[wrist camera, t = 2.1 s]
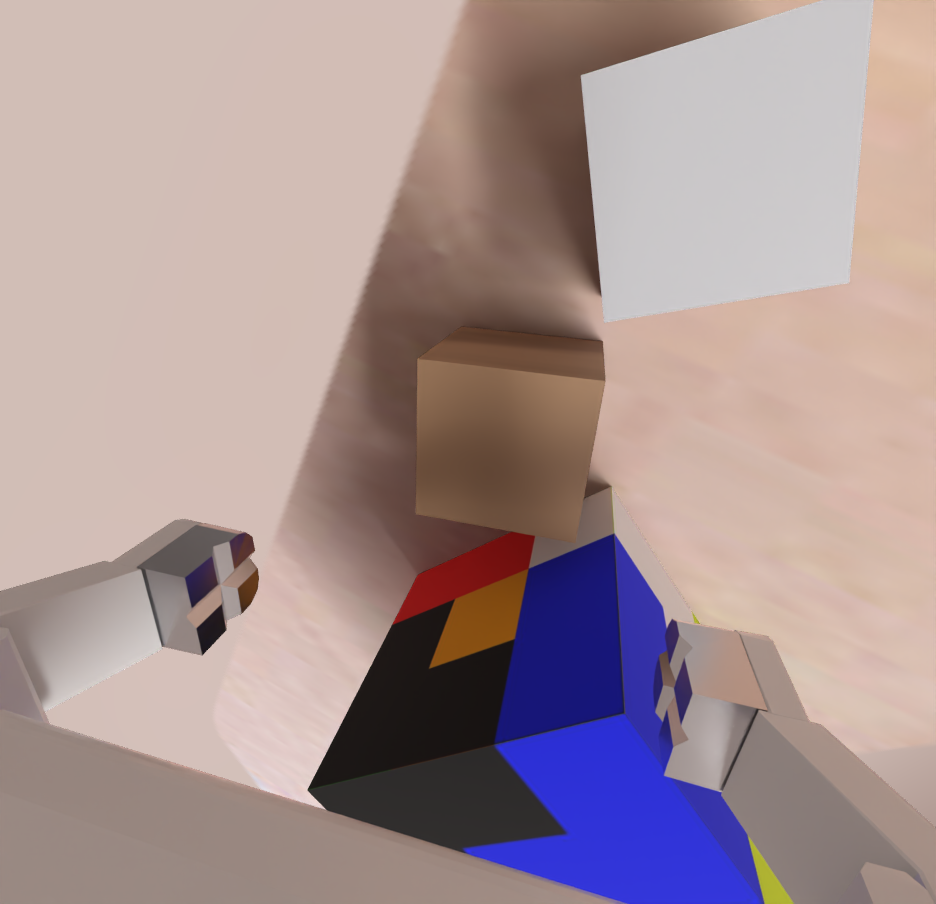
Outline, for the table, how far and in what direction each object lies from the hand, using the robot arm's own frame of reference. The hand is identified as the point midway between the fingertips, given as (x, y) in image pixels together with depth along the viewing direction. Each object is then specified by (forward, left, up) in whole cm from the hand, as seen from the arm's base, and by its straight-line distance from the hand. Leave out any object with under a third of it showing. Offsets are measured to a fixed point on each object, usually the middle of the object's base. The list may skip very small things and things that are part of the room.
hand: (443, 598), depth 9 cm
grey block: (-8, +4, -10) cm, 14 cm away
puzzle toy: (+9, +3, -11) cm, 15 cm away
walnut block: (-1, 0, -10) cm, 10 cm away
